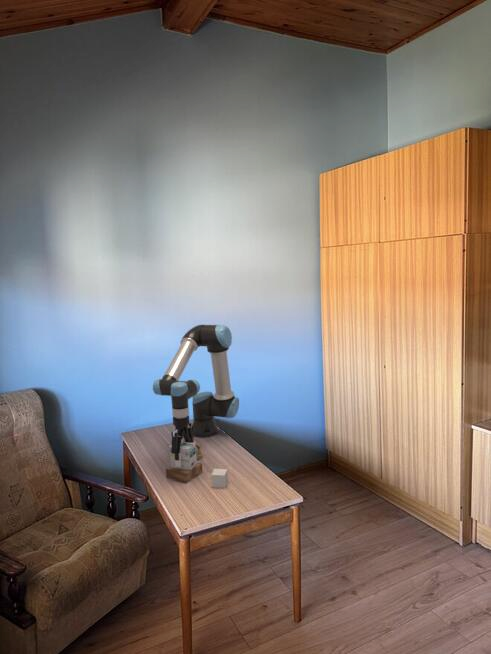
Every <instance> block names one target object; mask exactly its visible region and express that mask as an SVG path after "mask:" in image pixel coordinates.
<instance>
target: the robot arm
mask: <svg viewBox="0 0 491 654" xmlns="http://www.w3.org/2000/svg"><path fill="white" fill-rule="evenodd" d="M232 340H233V337H232V332H231V329H230V327H228V326H227V325H224V324H223V325H222V324H198V325H195V326H193V327H192V328H190V329H189V330H188V331H187V332H185V334H184V335H183V337H182V338H181V340H180V345H179V348H178V349H177V351H176V353H175V354H174V356H173V358H172V360H171V362H170V364H169V365H168V367H167V369H166V370H165V372H164V374H163V376H162V378H158V379H155V380H154V381H153V384H152V391H153V393H154V394H155V395H158V396H167V397H169V396H170V397H171V409H172V425H173V426H174V427H175V429H174V431H171V445H172V447H171V453H172V454H175V464H176V466H178V467H181V453H179V452H180V446H181V442H182V440H183V439H184V441H185V442H187V443H192V442H193V441H194V440H195V439H194V437H196V438H208V437H212V436H214V435H216V434H218V431H219V430H218V426H217V423H216V420H215V418H217V417H218V418H226V419H227V418H228V419H233V418H235V417H236V416H237V414H238V411H239V407H240V398H238V396H235V392H234V391H233V390H232V387H231V378H230V371H229V363H228V354H227V352H228V351H229V349H230V347H231V346H232V343H233V341H232ZM200 347H206V350H207V352H208V353H209V354H210V358H211V365H212V375H213V379H214V380H213V381H214V388H215V389H214V390H215V393H214V394H213V391H202V392H200V390H201V384H200V383H199V382H198V380H196V379H194V378H193V379H188V380H180V378H181V376H182V374H183V372H184V370H185V368H186V366H187V365H188V363H189V361H190V359H191V357H192V355H193V353H194V352H196V351H197V350H198V348H200ZM191 398H192V401H191V402H192V403H191V404H192V414H193V420H192V421H193V422H190V408H189V407H190V406H189V399H191ZM193 439H194V440H193Z"/></svg>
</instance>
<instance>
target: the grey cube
mask: <svg viewBox="0 0 491 654" xmlns="http://www.w3.org/2000/svg"><path fill="white" fill-rule="evenodd" d="M228 476H229V475H228V468H214V469H213V471H212V473H211V476H210V479H211V488H216V489H217V488H218V489H226V487H227V485H228V483H229V477H228Z"/></svg>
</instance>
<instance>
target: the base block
mask: <svg viewBox="0 0 491 654" xmlns="http://www.w3.org/2000/svg"><path fill="white" fill-rule="evenodd" d="M201 474H203V463H201V462H197V464H196V465H195V466H194V467H193V468H192V469H191V470H186V469H179V468H171V465H169V466H167V467H166V468H165V476H166V477H165V478H167V479H169V480H173V481H176V482H180V483H184V484H188V483H189V482H191V481H192V480H194V479H195V478H197V477H199V476H200V475H201Z"/></svg>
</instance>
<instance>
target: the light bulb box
mask: <svg viewBox="0 0 491 654" xmlns="http://www.w3.org/2000/svg"><path fill="white" fill-rule="evenodd" d="M171 447H172V444H171V445H169V460H170V466H171V468H179V469H186V470H191V469H192V468H193V467H194V466H195V465H196V464H197V463H198V462H197V461H198V460H197V459H196V446H195V443H187V442H184V441H181V446H180V452H179V453H181V467H178V466H176V464H175V454H172V453H171Z"/></svg>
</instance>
